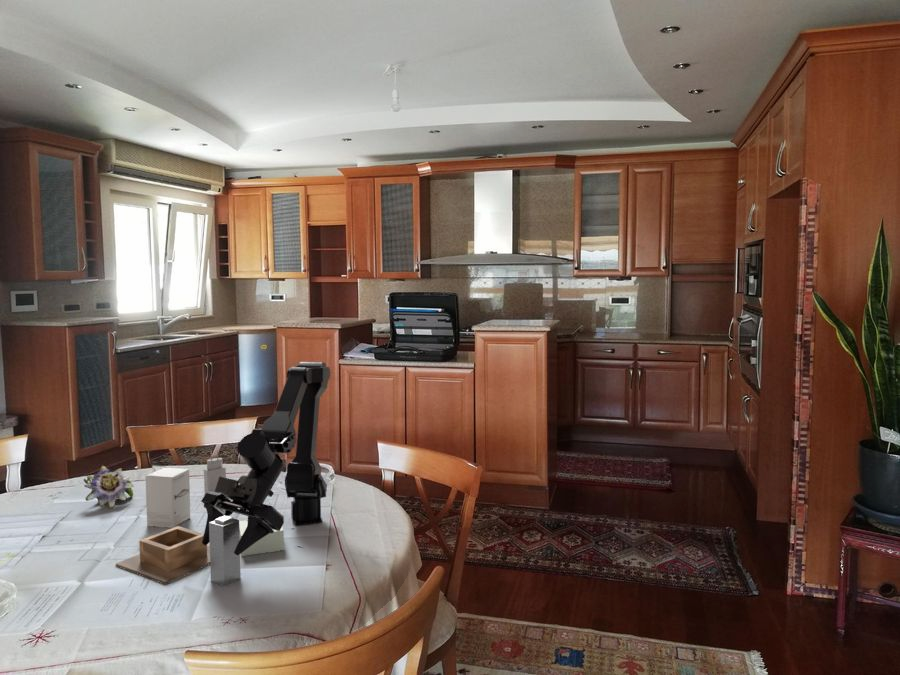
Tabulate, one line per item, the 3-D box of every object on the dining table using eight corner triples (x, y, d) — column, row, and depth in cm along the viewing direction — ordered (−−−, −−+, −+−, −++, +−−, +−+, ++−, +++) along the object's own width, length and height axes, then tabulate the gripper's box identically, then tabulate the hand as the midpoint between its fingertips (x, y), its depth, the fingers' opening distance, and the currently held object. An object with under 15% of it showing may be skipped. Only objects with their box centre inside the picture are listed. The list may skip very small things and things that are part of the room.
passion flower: (112, 527, 173) (86, 499, 165) (93, 510, 179) (67, 483, 172) (148, 495, 179) (124, 467, 171) (128, 480, 185) (104, 452, 178)
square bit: (226, 573, 134) (225, 513, 133) (240, 578, 132) (239, 517, 131) (210, 581, 131) (208, 519, 130) (224, 586, 129) (222, 523, 128)
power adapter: (227, 492, 184) (226, 450, 183) (208, 496, 180) (207, 453, 179) (222, 489, 187) (221, 448, 185) (203, 494, 183) (202, 451, 182)
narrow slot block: (279, 535, 154) (279, 516, 154) (283, 550, 146) (283, 530, 145) (239, 540, 151) (238, 521, 151) (241, 555, 143) (240, 535, 142)
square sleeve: (181, 539, 151) (181, 518, 151) (230, 555, 143) (229, 532, 143) (115, 565, 137) (114, 542, 137) (165, 584, 129) (164, 559, 129)
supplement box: (173, 528, 158) (171, 477, 156) (146, 526, 159) (144, 475, 158) (191, 517, 165) (190, 468, 164) (165, 515, 166) (163, 466, 165)
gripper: (207, 453, 138) (162, 521, 129) (272, 466, 128) (228, 541, 120) (238, 480, 145) (197, 546, 137) (301, 494, 136) (262, 566, 127)
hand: (219, 549), depth 130 cm, fingers open, 9 cm apart
